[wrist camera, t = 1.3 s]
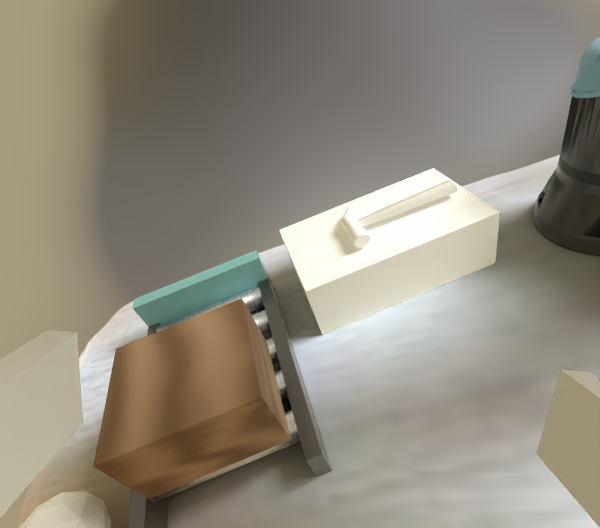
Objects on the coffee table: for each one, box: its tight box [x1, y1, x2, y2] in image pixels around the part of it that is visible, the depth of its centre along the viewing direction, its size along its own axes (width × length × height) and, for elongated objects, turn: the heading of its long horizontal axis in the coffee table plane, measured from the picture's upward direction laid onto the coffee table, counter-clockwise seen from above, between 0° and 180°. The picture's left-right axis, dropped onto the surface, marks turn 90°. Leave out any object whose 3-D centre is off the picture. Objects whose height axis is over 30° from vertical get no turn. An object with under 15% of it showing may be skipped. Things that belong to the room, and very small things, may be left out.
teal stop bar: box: [133, 251, 276, 326], centre depth 53 cm, size 19×2×8 cm, turn 105°
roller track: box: [128, 277, 332, 528], centre depth 44 cm, size 19×28×4 cm, turn 15°
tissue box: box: [280, 168, 500, 335], centre depth 50 cm, size 14×25×11 cm, turn 106°
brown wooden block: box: [94, 298, 291, 499], centre depth 35 cm, size 14×12×8 cm
